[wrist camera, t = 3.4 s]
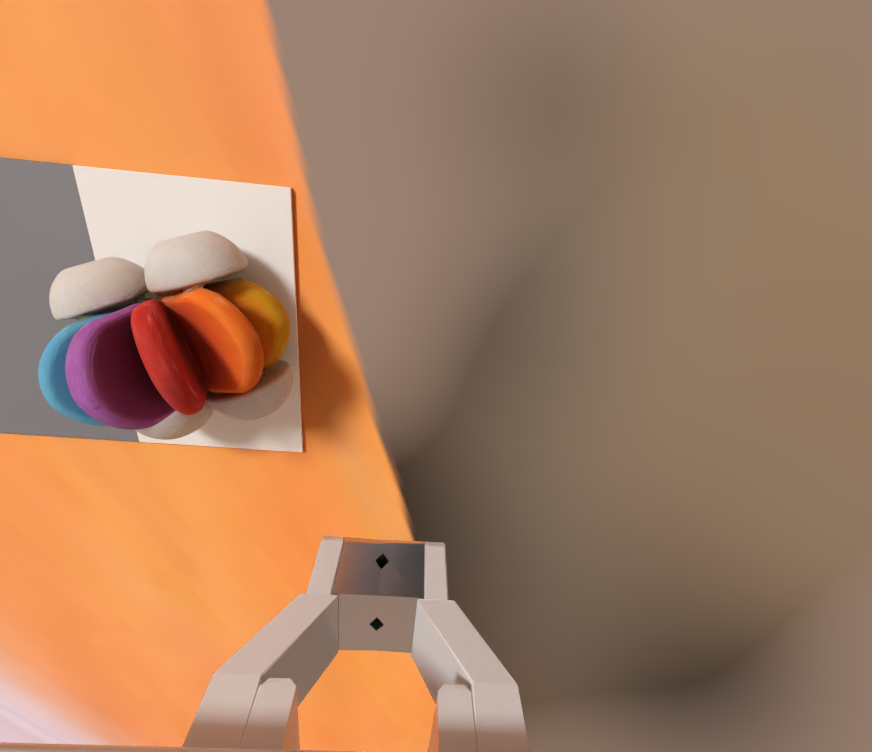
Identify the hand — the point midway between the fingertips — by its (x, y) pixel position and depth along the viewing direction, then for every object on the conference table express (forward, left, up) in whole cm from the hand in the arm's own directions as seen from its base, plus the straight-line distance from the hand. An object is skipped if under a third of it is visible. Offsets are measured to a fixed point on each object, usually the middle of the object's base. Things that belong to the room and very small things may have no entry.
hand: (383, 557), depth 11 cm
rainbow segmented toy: (-1, -10, -13) cm, 16 cm away
